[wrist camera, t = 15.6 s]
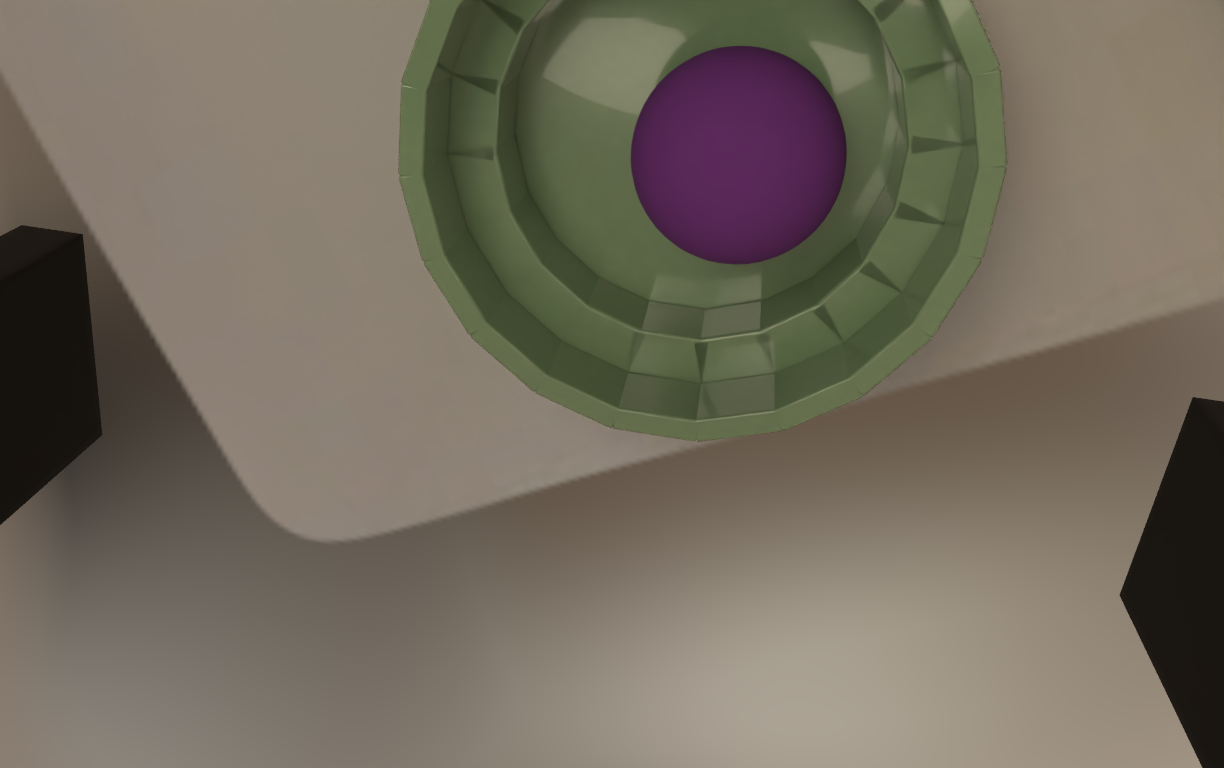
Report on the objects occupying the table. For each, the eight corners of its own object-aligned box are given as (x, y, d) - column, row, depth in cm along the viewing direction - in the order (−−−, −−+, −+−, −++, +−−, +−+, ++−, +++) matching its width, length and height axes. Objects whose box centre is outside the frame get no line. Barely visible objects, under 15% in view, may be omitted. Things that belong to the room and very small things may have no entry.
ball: (597, 222, 29) (652, 295, 25) (619, 20, 27) (683, 62, 23) (777, 227, 31) (859, 297, 26) (812, 35, 28) (906, 77, 24)
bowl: (443, 321, 33) (390, 394, 28) (468, -190, 27) (408, -200, 23) (904, 391, 32) (925, 478, 27) (1029, -123, 26) (1082, -119, 22)
